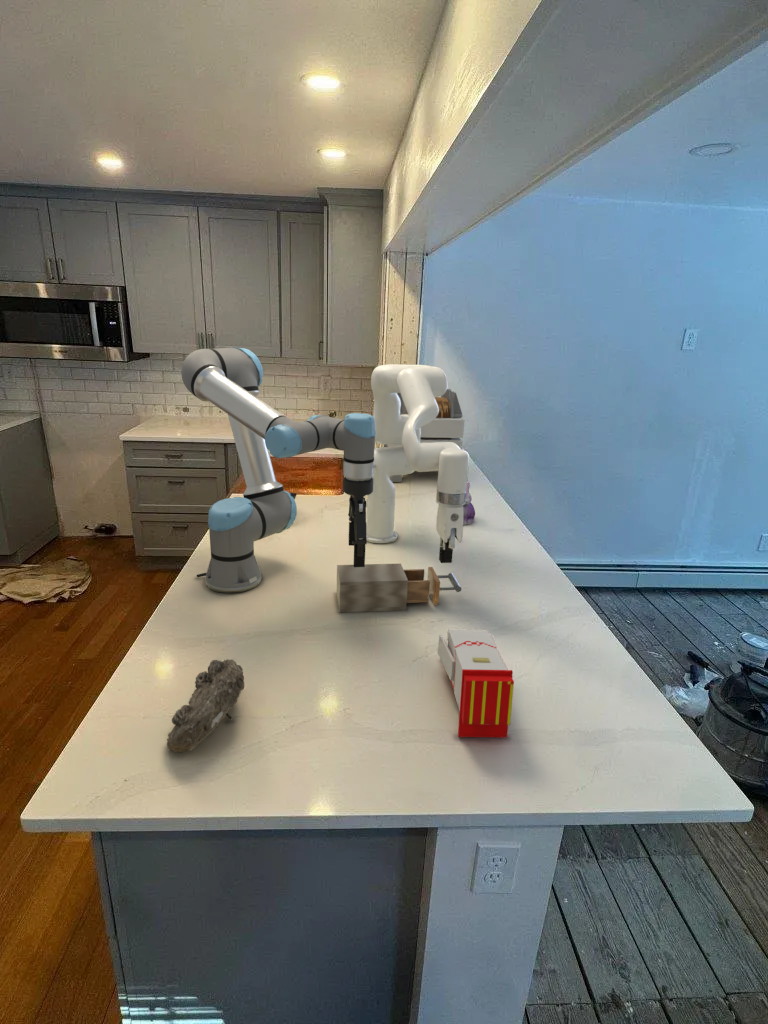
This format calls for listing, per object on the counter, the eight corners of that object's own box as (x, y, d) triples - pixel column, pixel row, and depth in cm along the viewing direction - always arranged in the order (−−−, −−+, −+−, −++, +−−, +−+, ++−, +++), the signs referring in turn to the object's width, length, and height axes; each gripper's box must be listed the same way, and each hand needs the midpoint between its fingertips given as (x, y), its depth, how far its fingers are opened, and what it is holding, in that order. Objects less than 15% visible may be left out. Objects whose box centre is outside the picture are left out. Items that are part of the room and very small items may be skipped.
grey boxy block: (399, 591, 159) (400, 563, 156) (406, 610, 150) (408, 580, 147) (336, 593, 156) (337, 564, 154) (339, 612, 147) (340, 582, 144)
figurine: (460, 527, 208) (464, 488, 203) (445, 518, 217) (448, 480, 212) (481, 523, 212) (485, 485, 207) (465, 515, 221) (469, 478, 216)
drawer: (451, 587, 161) (454, 566, 158) (460, 603, 152) (463, 580, 150) (373, 590, 157) (374, 568, 155) (377, 606, 149) (378, 583, 146)
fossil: (192, 660, 117) (244, 628, 112) (224, 691, 120) (276, 661, 115) (142, 746, 98) (202, 712, 93) (182, 779, 101) (242, 748, 96)
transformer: (382, 463, 289) (386, 382, 275) (445, 464, 293) (451, 384, 279) (390, 482, 257) (394, 392, 243) (460, 483, 261) (468, 394, 247)
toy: (488, 613, 130) (523, 677, 101) (484, 667, 133) (517, 744, 104) (435, 612, 130) (455, 676, 101) (432, 666, 133) (451, 743, 103)
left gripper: (380, 492, 129) (377, 576, 137) (367, 463, 153) (364, 536, 160) (347, 492, 128) (346, 577, 136) (339, 463, 151) (338, 537, 159)
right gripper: (473, 506, 140) (466, 573, 146) (457, 488, 154) (451, 550, 160) (444, 506, 138) (438, 574, 145) (430, 488, 152) (425, 550, 159)
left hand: (356, 555), depth 148 cm, fingers open, 13 cm apart
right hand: (445, 561), depth 152 cm, fingers closed
